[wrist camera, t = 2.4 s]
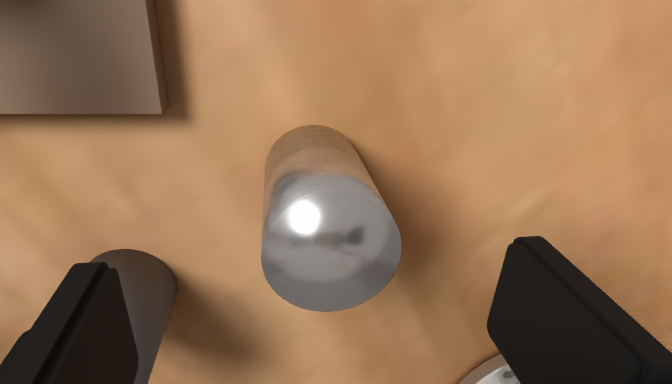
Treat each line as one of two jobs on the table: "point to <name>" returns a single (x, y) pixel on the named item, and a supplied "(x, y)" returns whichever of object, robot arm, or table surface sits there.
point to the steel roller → (324, 223)
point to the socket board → (80, 57)
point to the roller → (144, 301)
